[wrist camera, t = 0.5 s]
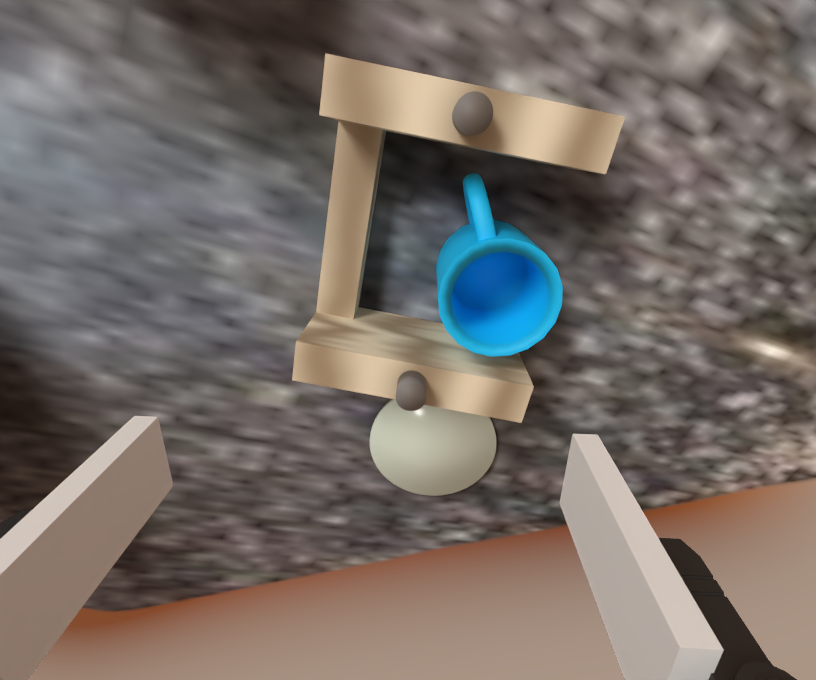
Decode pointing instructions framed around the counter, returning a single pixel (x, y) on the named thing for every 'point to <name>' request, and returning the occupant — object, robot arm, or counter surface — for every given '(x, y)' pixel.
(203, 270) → the counter surface
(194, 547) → the counter surface
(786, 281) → the counter surface
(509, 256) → the mug
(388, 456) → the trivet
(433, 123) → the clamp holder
